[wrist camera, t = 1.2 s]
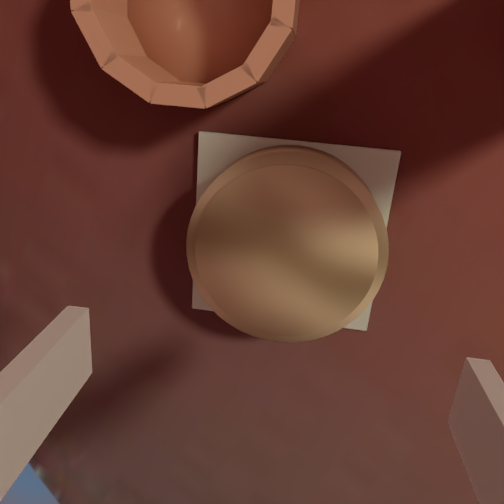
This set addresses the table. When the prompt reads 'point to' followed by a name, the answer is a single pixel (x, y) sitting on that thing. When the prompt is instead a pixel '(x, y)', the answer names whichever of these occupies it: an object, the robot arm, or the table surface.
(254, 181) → the brass lid
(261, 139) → the silicone mat
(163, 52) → the terracotta bowl
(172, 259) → the table surface
